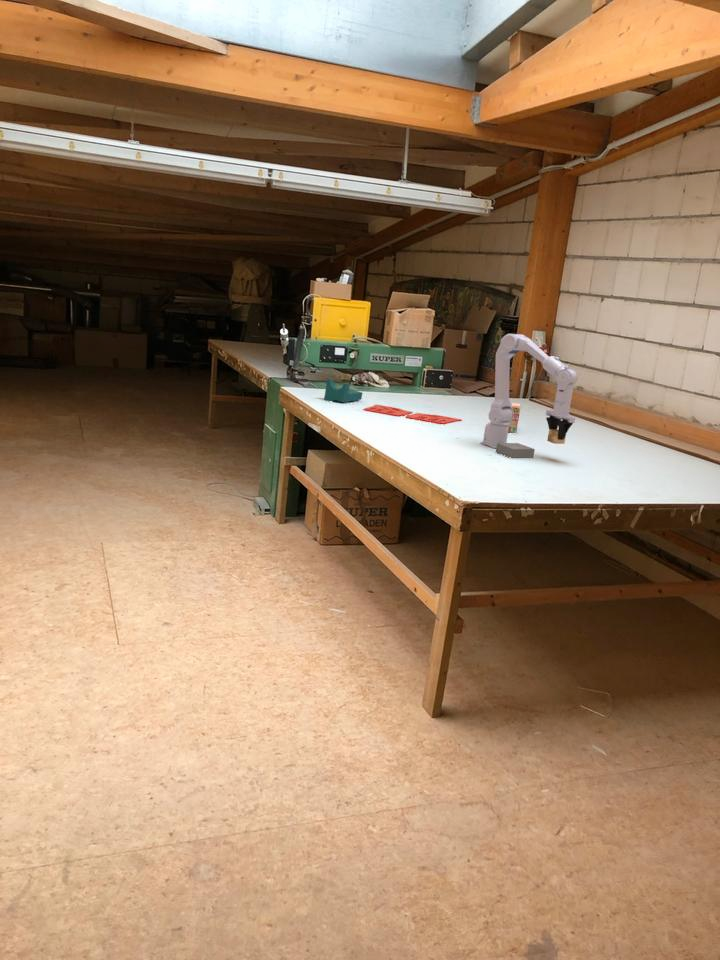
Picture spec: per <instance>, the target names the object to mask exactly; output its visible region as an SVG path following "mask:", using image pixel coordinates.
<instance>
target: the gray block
mask: <svg viewBox="0 0 720 960" xmlns="http://www.w3.org/2000/svg"><path fill="white" fill-rule="evenodd" d="M535 451H536V450H535V448H533V447H530V446H528V445H524V444H521V443H518V442H506V443H497V447H496V448H495V453H496V452H497V453H496V454H498V453H500V454H499V455H501V454H502V455H501V456H504V455H505V456H504V457H506V456H508V457H507V458H509V457H511V458H533V459H534V456H535ZM511 458H510V459H511Z"/></svg>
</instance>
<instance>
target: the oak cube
mask: <svg viewBox="0 0 720 960" xmlns="http://www.w3.org/2000/svg"><path fill="white" fill-rule="evenodd" d="M558 431H559V428H557V429H549V428H548V433H547V440H546V441H547V442H549V443H552V444H554V445H555V444H556V445H562V444H563V445H564V444H566V443H565V442H566V437H567V434H566V435H565V437H564V440H559V439H558Z"/></svg>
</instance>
